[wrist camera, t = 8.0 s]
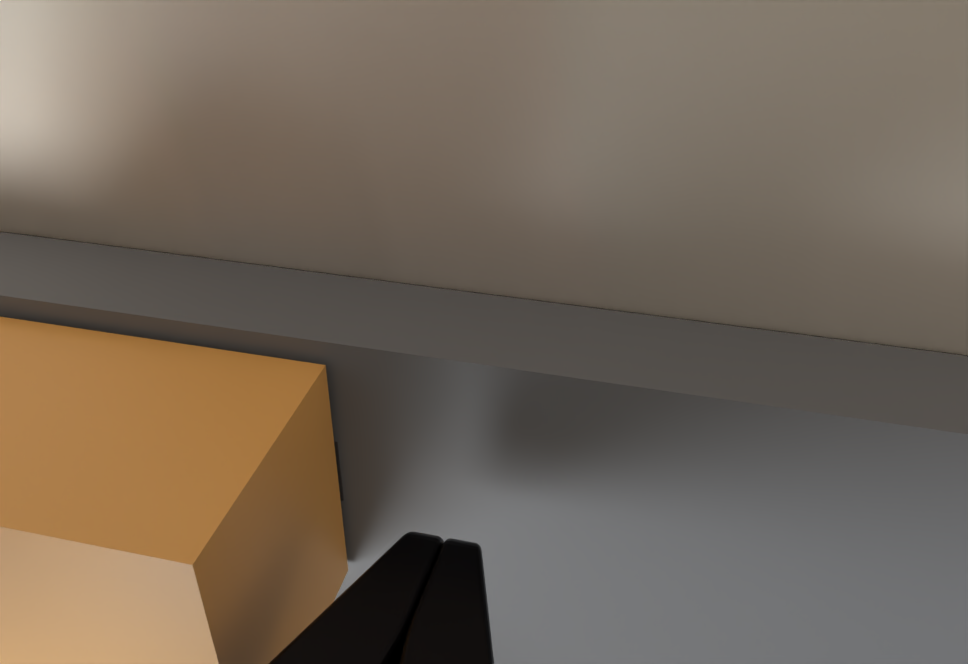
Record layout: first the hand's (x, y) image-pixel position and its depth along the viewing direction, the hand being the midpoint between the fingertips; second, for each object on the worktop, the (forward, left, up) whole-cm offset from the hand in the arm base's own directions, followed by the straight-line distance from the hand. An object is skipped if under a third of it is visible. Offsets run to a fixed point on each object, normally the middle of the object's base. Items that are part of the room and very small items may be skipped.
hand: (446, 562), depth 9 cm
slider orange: (+4, 0, -1) cm, 4 cm away
